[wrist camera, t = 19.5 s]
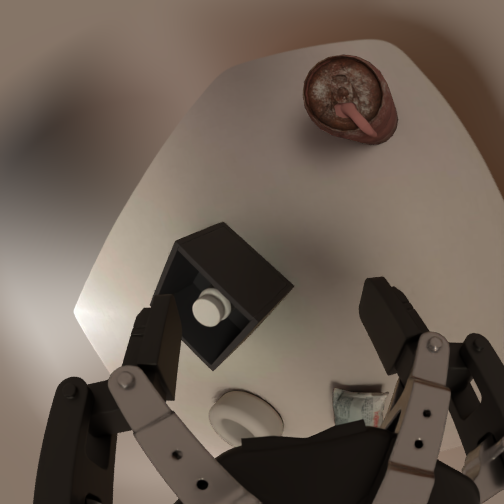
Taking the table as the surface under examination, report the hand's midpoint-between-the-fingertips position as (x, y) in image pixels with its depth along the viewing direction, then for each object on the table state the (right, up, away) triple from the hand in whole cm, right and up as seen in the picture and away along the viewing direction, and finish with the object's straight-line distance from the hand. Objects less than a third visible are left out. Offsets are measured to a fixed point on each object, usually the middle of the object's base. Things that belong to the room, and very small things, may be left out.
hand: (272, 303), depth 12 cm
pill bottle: (-4, -3, +31) cm, 32 cm away
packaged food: (+17, -22, +27) cm, 39 cm away
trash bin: (-3, -3, +32) cm, 32 cm away
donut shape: (0, -32, +42) cm, 52 cm away
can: (+12, +16, +15) cm, 25 cm away
